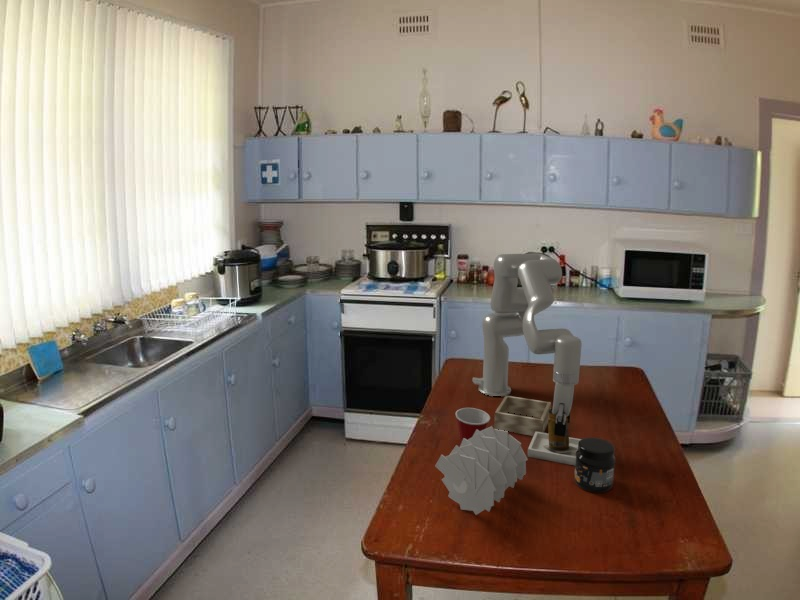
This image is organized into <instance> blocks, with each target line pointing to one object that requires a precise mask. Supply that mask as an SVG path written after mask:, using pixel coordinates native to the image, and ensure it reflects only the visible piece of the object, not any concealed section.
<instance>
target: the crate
mask: <svg viewBox="0 0 800 600" xmlns="http://www.w3.org/2000/svg"><path fill="white" fill-rule="evenodd" d="M551 404H552V403H551V401H544V400H537V399H530V398H524V397H517V396H512V395H506V396H503V399H502V400H501V402H500V404H499V405H498V407H497V408H496V410H495V412H494V421H493V422H494V423H493V424H494V425H493V429H499V430H505V431H509V432H508V433H513V432H514V434H520V435H526V436H531V437H533V436H534V434H535V432H542V433H546V432H545V431H546V430H547V429H546V428H548V418H549V409H551V407H552V405H551ZM508 412H509V413H508ZM514 413H515V414H514ZM520 414H521V415H520ZM526 415H527V416H526ZM532 416H533V417H532Z"/></svg>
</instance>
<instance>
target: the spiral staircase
mask: <svg viewBox="0 0 800 600" xmlns="http://www.w3.org/2000/svg"><path fill="white" fill-rule="evenodd" d="M527 461H528V456H527V455H526V453H525V452H524V448H522V442H521V441H519V440H518V439H516V438H515V437H514V436H512V435H511V434H509V432H508V431H504V430H498V429H494V426H493V425H491V426H489V427H486V428H485V429H484V430H482V431H479V430H478V429H477V430H476V431H475V433H474V435H473V437H471V438H470V439H468V440H467V439H465V438H463V440H462V443H461V442H460V445H457V444H456V445H455V446H454V448H453V449H452V450H451V452H450V453H449V455H446V456H445V455H444V454H440V457H439V458H438V460H437V462H436V464H435V466H434V467H435V468H436V469H438V470H439V471H440V473H442V474H443V476H444V477H443V478H441V482H442V483H443V484H444V486H445V487H446V489H447V490H448V492H449V493H448V496H447V497H448V498H450V499H451V500H452V501H454V502H455V503H457V504H458V505H459V507H460V510H462V511H472V512H473V513H474V514H475V516H477V515H479V514H480V513H482V512H483V511H485V510H486V511H487V512H490V511H491V509H492V507H494V506H495V502H494V501H496V502H497V503H500V502H501V499H502V498H503V499H504V497H505V491H506V490H507V489H508V488H509V487H510V488H513V489H514V488H515V483H517V482H518V479H519V480H520V481H523V478H524V475H526V474H527V467H526V465H527V463H526V462H527Z"/></svg>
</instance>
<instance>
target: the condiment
mask: <svg viewBox="0 0 800 600" xmlns="http://www.w3.org/2000/svg"><path fill="white" fill-rule="evenodd" d="M552 410H553V407H552V408H550V409H549V418H548V424H547V431H548V434H549V445H545V446H544V447H545V448H548V449H550V450H553V451H555V452H558V453H565V452H571V451H575V450H578V449H577V448H575V447H572V446H569V437H570V436H569V435H570V433H569V430H570V429H569V423H568V419H567V417H566V422H565V424H566V433H565V436H564V437H563V436H558V435H555V434H554V430H555V422H556V415H557V413H556V414H553V413H552ZM563 414H565V413H563ZM562 418H563V419H564V417H563V416H562Z"/></svg>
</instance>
